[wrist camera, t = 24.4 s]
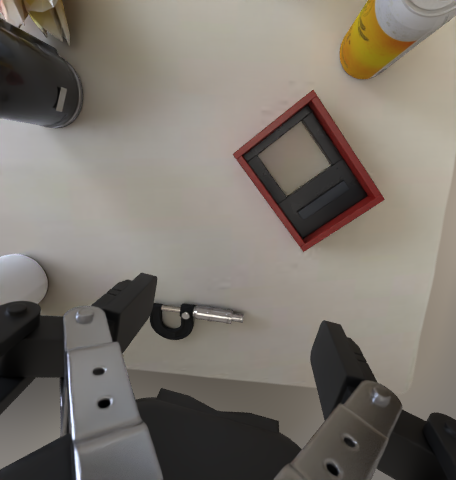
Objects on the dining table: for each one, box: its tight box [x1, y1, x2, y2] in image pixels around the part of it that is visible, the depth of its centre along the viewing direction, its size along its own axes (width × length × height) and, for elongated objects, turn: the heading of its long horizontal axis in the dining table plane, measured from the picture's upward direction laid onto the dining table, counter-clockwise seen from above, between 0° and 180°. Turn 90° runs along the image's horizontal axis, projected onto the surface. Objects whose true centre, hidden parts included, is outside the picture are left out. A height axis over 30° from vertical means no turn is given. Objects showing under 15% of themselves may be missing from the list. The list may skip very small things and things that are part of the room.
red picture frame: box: [233, 90, 385, 252], centre depth 36 cm, size 16×12×4 cm
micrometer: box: [150, 303, 243, 340], centre depth 45 cm, size 15×7×2 cm, turn 85°
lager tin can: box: [340, 0, 456, 79], centre depth 26 cm, size 6×6×15 cm
